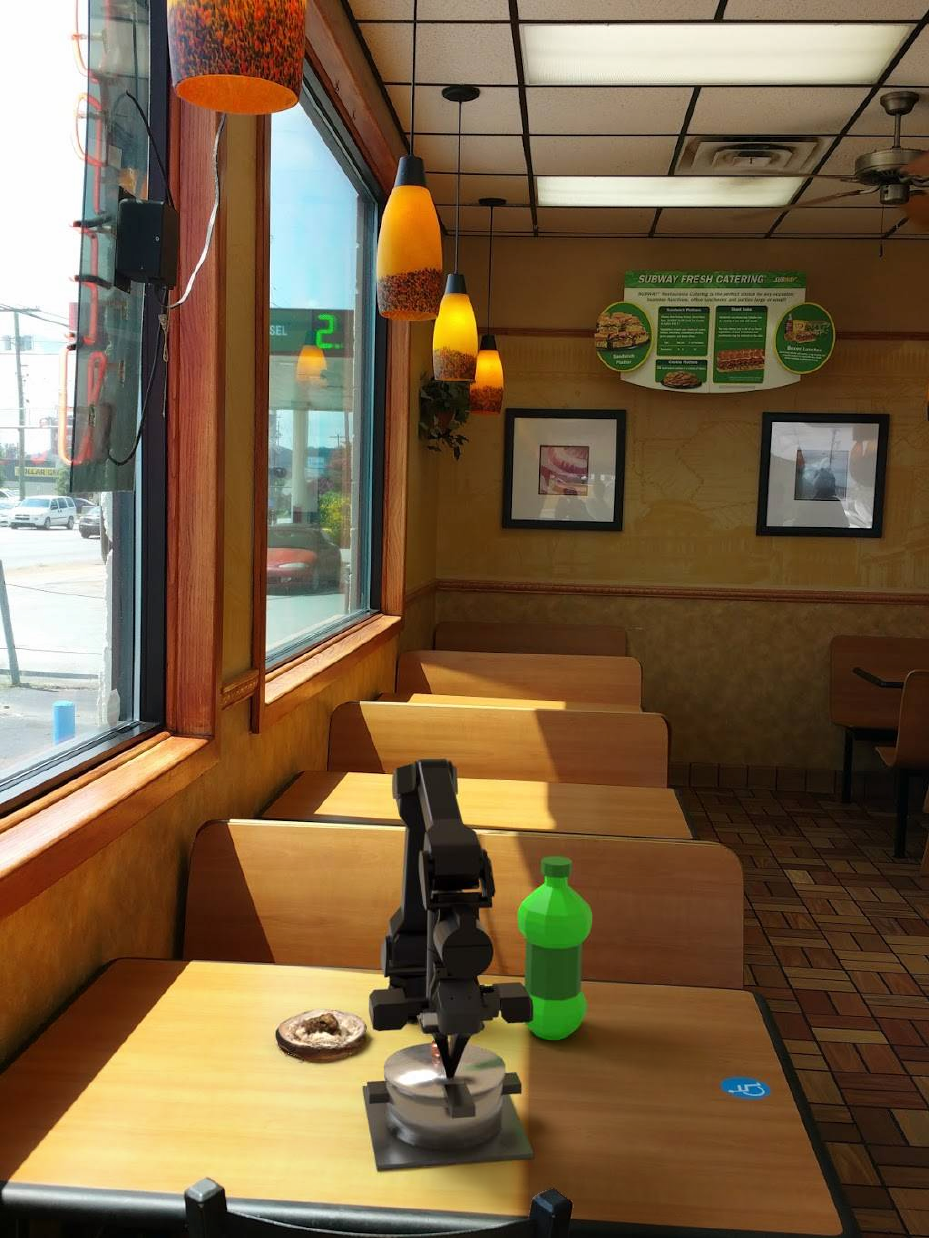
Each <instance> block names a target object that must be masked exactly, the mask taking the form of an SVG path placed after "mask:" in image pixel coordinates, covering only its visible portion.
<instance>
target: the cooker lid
mask: <svg viewBox="0 0 929 1238" xmlns="http://www.w3.org/2000/svg"><path fill="white" fill-rule="evenodd" d="M448 1045H449V1046H450V1040H448ZM384 1061H385V1062H384V1064H383V1077H384V1081H386V1082H387V1083H388V1084H389V1085H390V1086H391V1087H392V1088H394V1089H395V1090H397V1091H399V1092H401V1093H404V1094H407V1095H410V1096H414V1097H418V1098H424V1099H432V1100H445V1101H446V1104H447V1106H448V1109H449V1112H450V1114H451V1117H452V1118H466V1117H476V1106H475V1103H474V1101H473V1099H472V1097H476V1096H480V1095H483V1094H486V1093H488V1092H491V1091H493V1090H494V1089H496V1088H497V1087H499V1086H500V1085H501V1084H502V1083H503V1081H504V1079H505V1073H506V1063H505V1061H504V1059H503V1058H502V1057H501V1056H500V1055H499V1054H498V1053H496V1052H494V1051H492V1050H490V1049H487V1048H485V1047H483V1046H479V1045H473V1044H469V1043H467V1045H466V1047H465V1049H464V1051H463V1054H462V1057H461V1059H460V1062H459V1065H458V1067H457V1070H456V1073H455V1075H454V1078H446V1075H445V1071H444V1068H443V1065H442V1061H441V1058H440V1055H439V1051H438V1048H437V1045H436V1043H435V1041H434V1040H432V1041H431V1042H427V1043H426V1042H425V1043H420V1044H414V1045H411V1046H407V1047H405V1048H401V1049H400V1050H397V1051H396V1052H393V1053H392V1054H391V1055H390V1056H388V1057H387V1058H386V1060H384Z"/></svg>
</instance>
